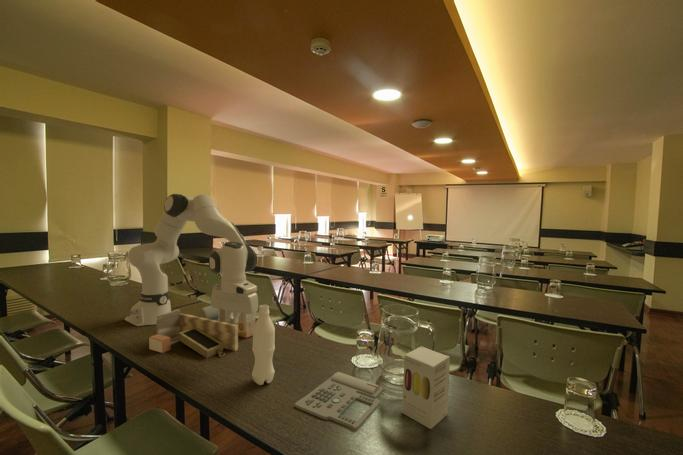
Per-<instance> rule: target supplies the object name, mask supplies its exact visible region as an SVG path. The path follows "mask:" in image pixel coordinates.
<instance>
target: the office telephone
mask: <svg viewBox="0 0 683 455" xmlns="http://www.w3.org/2000/svg"><path fill="white" fill-rule="evenodd" d="M383 391H384V388H383V387H382V386H381V385H378V384H375V383H373V382H369V381H366V380H364V379H361V378H359V377H356V376H354V375H353V376H352V375H349V374H347V373H344V372H341V371H337V372H335V373H334V374H333V375H332V376H330V377H329V378H328V379H326V380H325V381H324V382H323V383H321V384H319V385H318V386H317V387H316V388H314V389H313V390H312V391H310V392H309V393H308V394H306V395H305V396H304V397H301V398H300V399H299V400H297V401H296V402H295V403H294V407H295V408H296V409H298V410H301V411H303V412H306V413H308V414H310V415H313V416H315V417H318V418H319V419H322V420H324V421H325V420H326V421H327V420H328V421H329V420H330V421H333V422H335V423H338V424H340V425H343V426H345V427H347V428H350V429H351V430H353V431H358V430H359V429H360V428H361V427H362V426H363V425H364V423H365V422H366V421H367V420H368V419H369V418H370V417H371V416H372V414H373V413H374V412H375V411H376V410H377V408H379V407H380V404H381V400H379V399H377V398H378V397H379V396H380V395H381V394H382V392H383ZM355 401H359V402H362V403H365V404H367V405H370V407H369V408H367V410H366V411H365V412H364V413H363V414H362V415H361V416H360V417H359V418H358V420H356V419H355V420H354V419H353V418H349V417H348V416H345V415H343V414H344V413H345V411H347V409H348V408H350V407H351V406H352V404H354V403H355Z"/></svg>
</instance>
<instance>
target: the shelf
mask: <svg viewBox="0 0 683 455" xmlns="http://www.w3.org/2000/svg"><path fill="white" fill-rule="evenodd" d="M155 325H156V326H155V327H156V329H155V330H156V334H160V335H163V336H167V337H170V339H171V345H174V344H176V343H178V342H181V341H180V340H179V335H178V333H180V332H183V331H185V330H188V329H191V328H194V327H196V328H198V329H200V330H201V331H203V332H205V333H206V334H208V335H210V336H211V337H213V338H215V339H216V340H218V341H220V342H222V343H223V344H224V347H223V349H225V350H230V351H233V352H236V351H238V350H239V336H238V325H235V324H230V323H226V322H225V321H221V320H219V321H218V320H211V319H207V318H202V317H199V316H197V315H192V314H188V313H182V312H181V309H174V310H173V311H172V310H171V312H168V313H165V314H162V315H158V316H156V324H155ZM156 334H155V335H156Z"/></svg>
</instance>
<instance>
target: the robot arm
mask: <svg viewBox="0 0 683 455" xmlns="http://www.w3.org/2000/svg"><path fill="white" fill-rule="evenodd" d="M163 207H164V208H163V209H164V211H163V213H162V214H161V216H160V218H159V220H158V221H157V223H156V225H155V227H154V229H153V231H154V234H155V236H156V240H155V241H154V242H149V243H142V244H138V245H136V246H132V247H131V248H130V249H129V250H128V254H127V259H128V261H129V263H130V264H131V265H132V266H133V267H134V268H136V269H137V271H138V273H139V275H140V278H141V293H139V294H138V296H139V301H138V302H137V303H135V304H134V305H133V306H132V307H131V308H130V315H127V316H126V317H125V318H124V321H126V322H128V323H130V324H132V325H134V326H136V327H141V326H153V325H156V316H158V315H162V314H165V313H168V312H171V311H172V305H171V300H170V299H169V298H170V291H169V278H168V277H169V276H168V275H167V274H166V273H164V272H163V271H162V270H161V267H160V265H162V264H167V263H170V262H172V261H175V260H176V259H178V257H179V255H180V249H179V246H178V239H179V237H180V235H181V234H182V232H183V230H184V228H185V226H186V224H187V222H188V221H189V222H193V223H194V224H195V226H196V227H197V229H198V230H199V231H200V232H201V233H203V234H204V235H205V234H206V235H207V236H214V237H220V238H223V239H225V240H228V241H227V242H224V243H223V244H222V246H221V248H219V249H216V250H214V251H212V252H211V253H210V255H209V256H208V268H209V270H210V271H211V272H212V273H214V274H216V275H221V278H220V282H221V283H215V284H213V286H212V291H211V297H210V306H212V308H217V309H219V310H223V311H225V310H227V315H228V317H229V322H233V323H237V322H238V317H239V316H240V314H241V313H245V314H253V313H255V314H256V313H258V311H259V295H258V294H257V291H258V286H257V285H256V284H254V283H252V282H250V281H249V280H247V275H246V273H250V272H252V271H253V270H254V269H255V268H256V266H257V264H258V255H257V253H256V252H255V250H254V248H252V246H250V245H249V243H248V242H247V241H246V240H245V238H244V236H243V235H242V233H241V232H240V231H239V229H238V227H237V226H236V225H235V223H233V222H231V221H229V220H228V219H227V218H226V217H225V216H224V215H223V214H222V212H221V211H220V208H219V206H218V205H217V203H216V202H215V200H214V199H213V198H212V197H211V196H210V195H207V194H198V195H196V196H195V197H192V196H189V195H188V196H187V195H183V194H182V193H181V194H179V193H172V194H170V195H168V196H167V197H166V199H165V201H164V206H163ZM255 291H256V292H255ZM233 311H234V314H235V317H234V315H233V313H232V312H233Z"/></svg>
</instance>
